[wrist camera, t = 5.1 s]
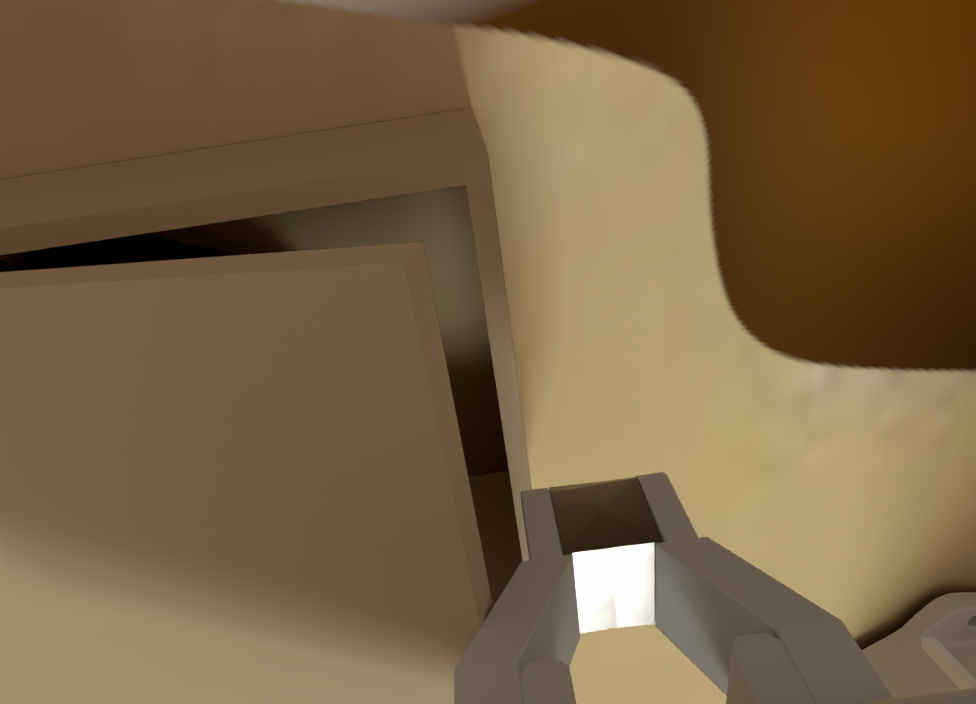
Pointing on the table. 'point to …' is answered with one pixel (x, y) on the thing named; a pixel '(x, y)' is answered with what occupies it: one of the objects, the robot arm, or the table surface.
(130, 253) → the gaming mouse
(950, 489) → the table surface
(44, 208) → the carton
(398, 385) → the carton flap
